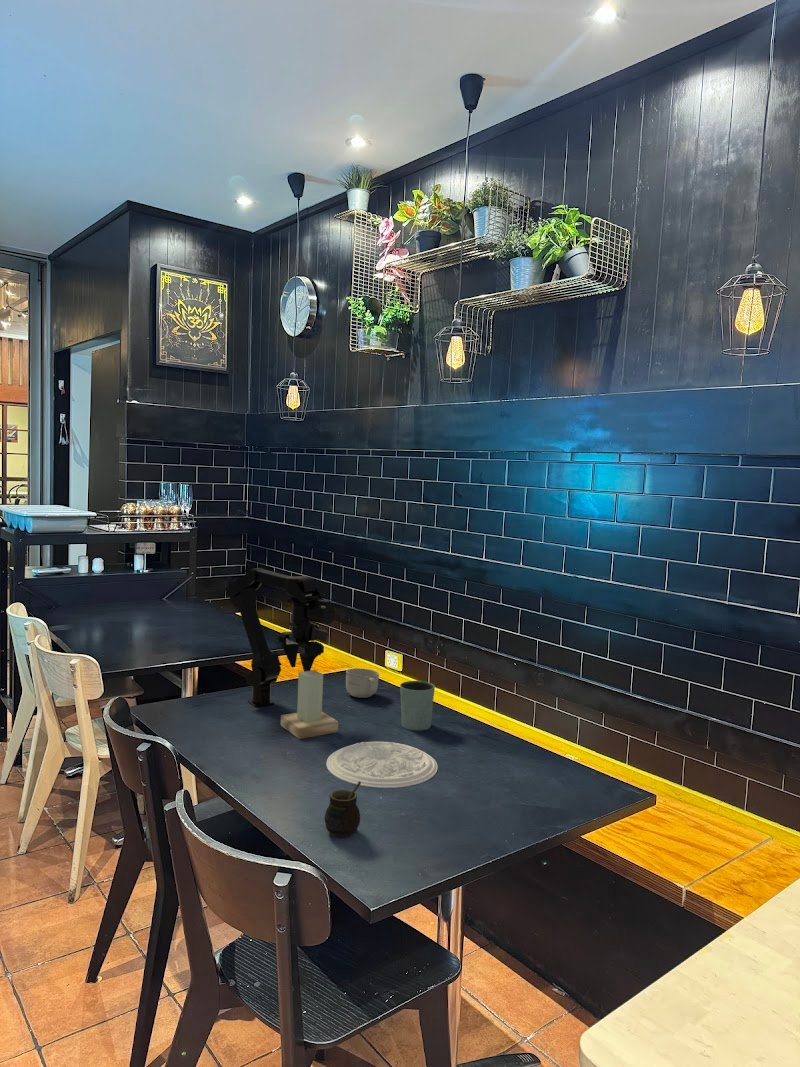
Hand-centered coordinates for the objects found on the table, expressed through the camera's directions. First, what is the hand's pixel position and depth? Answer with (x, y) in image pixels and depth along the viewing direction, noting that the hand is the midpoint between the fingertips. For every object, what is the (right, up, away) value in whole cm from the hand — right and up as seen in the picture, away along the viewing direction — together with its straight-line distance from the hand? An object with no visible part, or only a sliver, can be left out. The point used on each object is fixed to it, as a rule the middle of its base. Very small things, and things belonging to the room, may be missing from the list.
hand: (299, 671), depth 225 cm
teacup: (+18, -12, +21) cm, 30 cm away
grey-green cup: (+34, -15, -4) cm, 38 cm away
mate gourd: (+18, -21, -70) cm, 75 cm away
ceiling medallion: (+25, -18, -34) cm, 46 cm away
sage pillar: (+4, -11, -11) cm, 17 cm away
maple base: (+4, -14, -11) cm, 19 cm away
